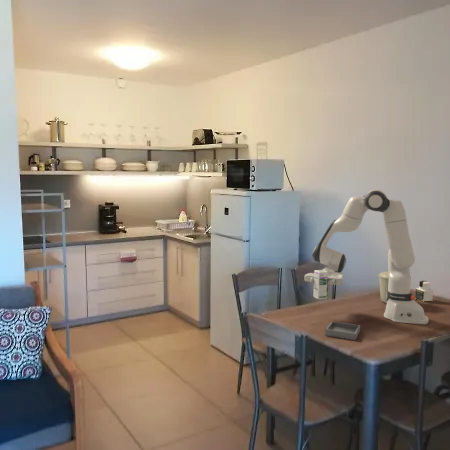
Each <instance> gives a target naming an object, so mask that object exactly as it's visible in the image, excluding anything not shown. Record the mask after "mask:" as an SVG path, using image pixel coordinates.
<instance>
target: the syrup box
mask: <svg viewBox="0 0 450 450" xmlns="http://www.w3.org/2000/svg"><path fill="white" fill-rule="evenodd" d="M313 273H314V283H313V294H312V295H313V297H314V298H315V299H317V300H328V299H329V285H328V281H329V272H328V271H326V270H322V269H315V270H313Z"/></svg>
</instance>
